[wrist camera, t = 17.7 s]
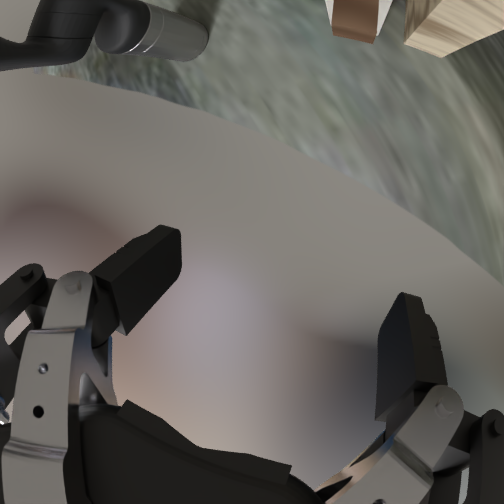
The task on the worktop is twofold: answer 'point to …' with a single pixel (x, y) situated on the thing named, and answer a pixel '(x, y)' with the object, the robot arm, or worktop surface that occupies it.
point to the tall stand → (450, 23)
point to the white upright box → (384, 6)
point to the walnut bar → (355, 19)
